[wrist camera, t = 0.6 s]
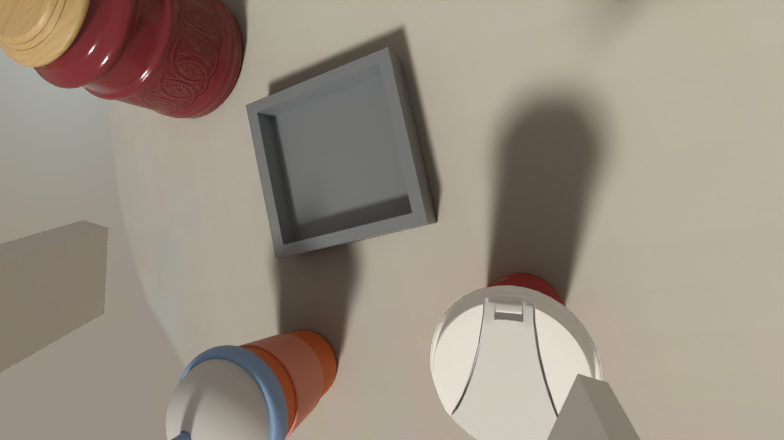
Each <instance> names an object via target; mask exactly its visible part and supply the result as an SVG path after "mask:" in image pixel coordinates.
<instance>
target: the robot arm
mask: <svg viewBox="0 0 784 440" xmlns="http://www.w3.org/2000/svg"><path fill="white" fill-rule="evenodd" d="M107 239H108V228H106V227H103V226H100V225H97V224H94V223H90V222H87V221H79V222H76V223H72V224H69V225H65V226H62V227H58V228H55V229H51V230H48V231H45V232H41V233H37V234H34V235H30V236H27V237H24V238H20V239H17V240H13V241H10V242H7V243H3V244H0V372H2V371H4V370H6V369H7V368H9V367H11V366H13V365H14V364H16V363H18V362H20V361H21V360H23V359H25V358H27V357H28V356H30V355H32V354H34V353H35V352H37V351H39V350H41V349H42V348H44V347H46V346H48V345H49V344H51V343H53V342H55V341H56V340H58V339H60V338H62V337H63V336H65V335H67V334H69V333H70V332H72V331H74V330H76V329H77V328H79V327H81V326H83V325H84V324H86V323H88V322H90V321H92V320H93V319H95V318H97V317H99V316H100V315H102V314H104V302H105V301H104V300H105V281H106V260H107ZM547 440H640V438H639V436H638V435H637V433H636V431H635V429H634V428H633V426H632V424H631V422H630V421H629V419H628V417H627V415H626V413H625V412H624V410H623V408H622V406H621V405H620V403H619V401H618V399H617V398H616V396H615V394H614V392H613V391H612V389H611V387H610V385H609V384H608V383H607V382H604V381H601V380H597V379H594V378H591V377H588V376H585V375H581V374H577V376H576V378H575V380H574V383H573V385H572V387H571V389H570V391H569V393H568V395H567V398H566V400H565V402H564V404H563V406H562V408H561V411H560V413H559V415H558V417H557V419H556V421H555V424H554V426H553V428H552V430H551V432H550V434H549V436H548V439H547Z"/></svg>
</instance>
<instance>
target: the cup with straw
mask: <svg viewBox="0 0 784 440" xmlns="http://www.w3.org/2000/svg"><path fill="white" fill-rule="evenodd" d="M335 375H336V359H335V355H334V353H333V350H332V348H331V347H330V345H329V344H328V342H327V341H326V340H325V339H324V338H323V337H321V336H320V335H319V334H317V333H315V332H312V331H307V330H301V331H296V332H292V333H289V334H280V335H275V336H271V337H268V338H265V339H261V340H258V341H254V342H251V343H247V344H244V345H241V346H231V345H225V346H218V347H214V348H211V349H208V350H206V351H204V352H203V353H201V354H200V355H198V356H197V357H196V358H195V359H194V360H193V361H192V362H191V363H190V364H189V365H188V366H187V368H186V369H185V371H184V372H183V374H182V376H181V379H180V381H179V384H178V386H177V387H176V389H175V391H174V392H173V395H172V397H171V399H170V402H169V405H168V409H167V415H166V433H167V439H168V440H286V439H287V438H288V437H289V435H290V434H291V433H292V432H293V431H294V430H295V429H296V428H297V427H298V426H299V424H300V423H301V422H302V421H303V420H304V419H305V418H306V417H307V416H308V415H309V413H310V412H311V411H312V410H313V409H314V408H315V407H316V405H317V404H318V402H319V400H320V398H321V397H322V396H323V395H324V394H325V393H326V392H327V390H328V389H329V388H330V387H331V385H332V384H333V381H334V379H335Z"/></svg>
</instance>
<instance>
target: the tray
mask: <svg viewBox="0 0 784 440" xmlns="http://www.w3.org/2000/svg"><path fill="white" fill-rule="evenodd" d="M246 108H247V113H248V118H249V123H250V129H251V134H252V139H253V144H254V149H255V154H256V159H257V164H258V169H259V174H260V179H261V184H262V189H263V195H264V200H265V205H266V210H267V215H268V220H269V225H270V230H271V235H272V240H273V245H274V250H275V256H276V258H283V257H289V256H295V255H300V254H304V253H308V252H313V251H317V250H321V249H325V248H330V247H334V246H338V245H342V244H347V243H351V242H355V241H359V240H364V239H368V238H372V237H376V236H381V235H385V234H389V233H394V232H398V231H402V230H406V229H411V228H415V227H419V226H423V225H428V224H432V223H436V222H437V219H436V215H435V210H434V206H433V201H432V197H431V193H430V188H429V184H428V179H427V175H426V171H425V166H424V162H423V157H422V153H421V149H420V144H419V140H418V135H417V131H416V127H415V122H414V118H413V113H412V109H411V105H410V100H409V96H408V91H407V87H406V83H405V78H404V74H403V69H402V65H401V61H400V60H399V59H398V58H397V56H396V55H395V54H394V53H393V52H392V51H391V50H390V49H389V48H388V47H386V48H384V49H381V50H379V51H376V52H374V53H372V54H369V55H367V56H364V57H362V58H359V59H357V60H355V61H352V62H350V63H347V64H345V65H342V66H340V67H338V68H335V69H333V70H330V71H328V72H325V73H323V74H321V75H318V76H316V77H313V78H311V79H308V80H306V81H304V82H301V83H299V84H296V85H294V86H291V87H289V88H287V89H284V90H282V91H279V92H277V93H274V94H272V95H270V96H267V97H265V98H262V99H260V100H258V101H255V102H253V103H250V104H248V105H246Z"/></svg>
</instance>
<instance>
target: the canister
mask: <svg viewBox="0 0 784 440" xmlns="http://www.w3.org/2000/svg"><path fill="white" fill-rule="evenodd" d="M0 46H1V48H2V49H3V51H4V52H5V53H6V54H7V55H8V56H9V58H11V59H12V60H13V61H15V62H17V63H18V64H21V65H23V66H27V67H34V69H35V70H36V71H37V72H38V74H39V75H40V76H41V77H42V78H43V79H45V80H46V81H47V82H49V83H51V84H53V85H55V86H57V87H61V88H68V89H70V88H78V87H84V88H85V89H86V90H87V91H88V92H90V93H91V94H93V95H95V96H97V97H99V98H102V99H107V100H118V101H121V102H125V103H129V104H132V105H136V106H140V107H143V108H147V109H151V110H154V111H155V112H157V113H160V114H162V115H166V116H170V117H174V118H198V117H202V116H205V115H207V114H209V113H211V112H212V111H214V110H215V109H216V108H218V107H219V106H220V105H221V104H222V103H223V102H224V101H225V99H226V98H227V97H228V95H229V94H230V92H231V91H232V89H233V87H234V85H235V83H236V80H237V78H238V75H239V71H240V67H241V62H242V38H241V33H240V29H239V26H238V23H237V21H236V19H235V17H234V16H233V14H232V13H231V11H230V10H229V9H228V8H227V7H226V6H225V5H224V4H223V3H222V1H221V0H0Z"/></svg>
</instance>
